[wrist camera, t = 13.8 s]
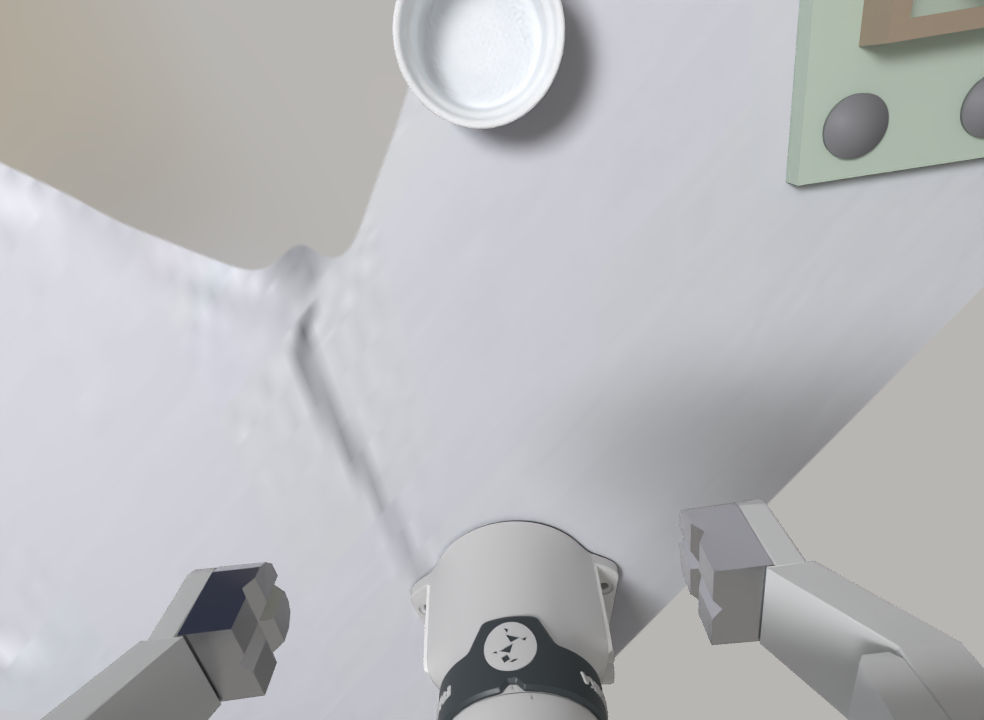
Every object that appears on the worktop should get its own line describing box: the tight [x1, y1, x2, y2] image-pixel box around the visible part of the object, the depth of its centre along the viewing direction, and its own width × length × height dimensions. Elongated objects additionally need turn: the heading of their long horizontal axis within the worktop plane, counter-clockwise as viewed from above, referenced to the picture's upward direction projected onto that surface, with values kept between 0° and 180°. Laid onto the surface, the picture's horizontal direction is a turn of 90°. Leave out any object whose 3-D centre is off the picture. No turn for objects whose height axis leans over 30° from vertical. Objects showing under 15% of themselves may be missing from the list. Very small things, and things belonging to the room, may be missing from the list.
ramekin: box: [393, 0, 565, 129], centre depth 31 cm, size 9×9×4 cm
